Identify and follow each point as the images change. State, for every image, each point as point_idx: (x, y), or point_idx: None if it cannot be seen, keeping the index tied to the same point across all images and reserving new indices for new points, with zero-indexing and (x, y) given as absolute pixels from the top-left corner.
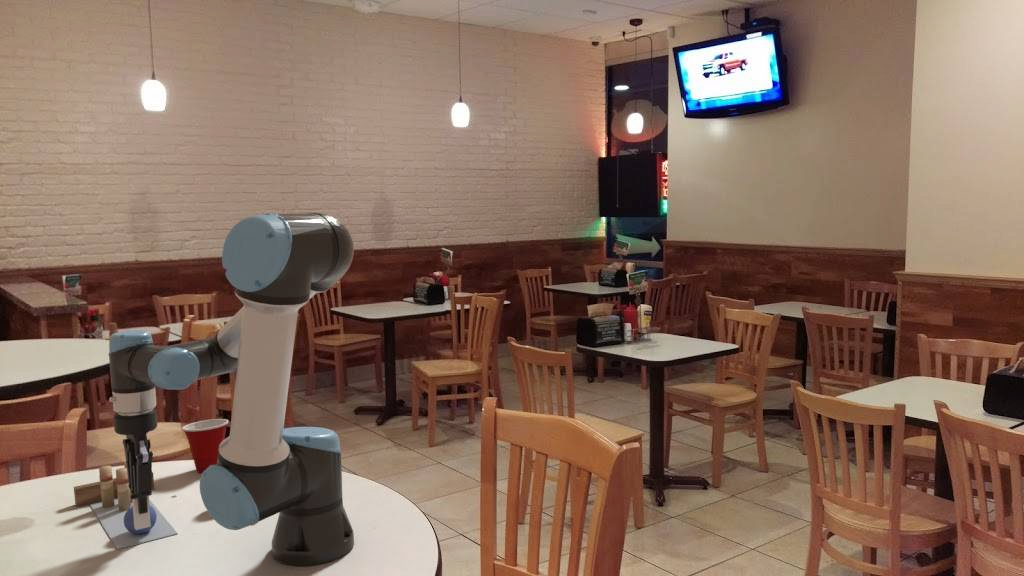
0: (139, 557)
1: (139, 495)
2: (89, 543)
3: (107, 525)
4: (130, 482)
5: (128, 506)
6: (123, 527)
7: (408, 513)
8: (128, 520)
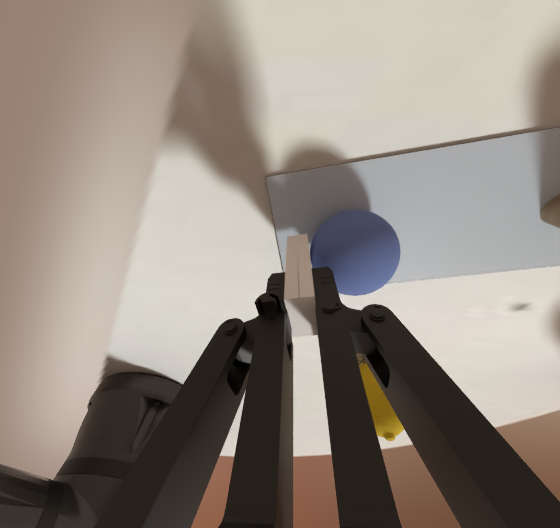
0: (196, 222)
1: (217, 334)
2: (366, 94)
3: (469, 154)
4: (371, 334)
5: (550, 220)
6: (411, 198)
7: None
8: (330, 229)
